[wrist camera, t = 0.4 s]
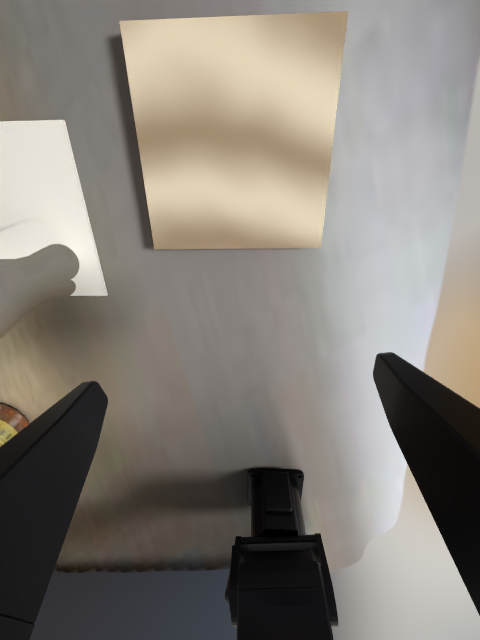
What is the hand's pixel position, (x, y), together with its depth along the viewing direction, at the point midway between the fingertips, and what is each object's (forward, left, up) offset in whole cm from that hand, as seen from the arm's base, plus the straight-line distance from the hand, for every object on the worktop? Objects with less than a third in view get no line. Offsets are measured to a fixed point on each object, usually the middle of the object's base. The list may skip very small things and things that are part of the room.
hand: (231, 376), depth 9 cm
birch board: (+8, 0, -14) cm, 16 cm away
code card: (+4, +16, -14) cm, 22 cm away
